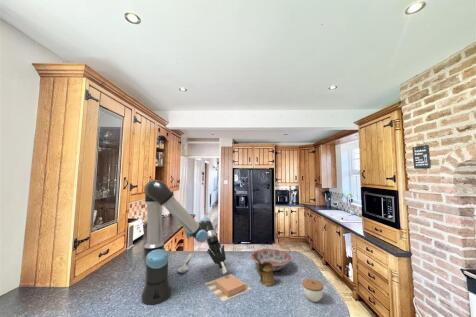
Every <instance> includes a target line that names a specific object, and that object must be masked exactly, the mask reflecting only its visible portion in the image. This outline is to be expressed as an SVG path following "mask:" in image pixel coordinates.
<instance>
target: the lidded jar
mask: <svg viewBox="0 0 476 317" xmlns="http://www.w3.org/2000/svg"><path fill="white" fill-rule="evenodd" d="M301 284H302V291H303V293H304V296H305V297H306V298H307V300H308V301H310V302H312V303H318V302H319V301H320V300H321V299H322V298H323V296H324V284H323V282H321V280H317V279H315V278H305V279H303V280H302V283H301Z"/></svg>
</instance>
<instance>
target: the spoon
mask: <svg viewBox="0 0 476 317" xmlns="http://www.w3.org/2000/svg"><path fill="white" fill-rule="evenodd" d="M192 257H193V253H189V254H188V255H187V258H186V261H185V262H184V264H183V265H182V266H180V267H177V269H176V272H177V273H179V274H183V273H186V272H187V271H188V270H189V268H190V267H189V266H188V265H187V264H188V262H189V261H190V260H191V258H192ZM182 270H183V271H182Z"/></svg>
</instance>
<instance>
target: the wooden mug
mask: <svg viewBox="0 0 476 317" xmlns="http://www.w3.org/2000/svg"><path fill="white" fill-rule="evenodd" d="M253 256H254V257H255V259H256V260H257V261H258V265H257V264H256V271H257V274H258V275H259V277H260V279H259V282H260V284H262V285H264V286H265V287H273V286H274V285H275V277H274V271H273V267H272V264H271V263H270V262H264V263H261V262H260V261H259V260H258V258H257V257H256V256H255V255H254V254H253ZM260 267H261V268H260Z"/></svg>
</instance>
